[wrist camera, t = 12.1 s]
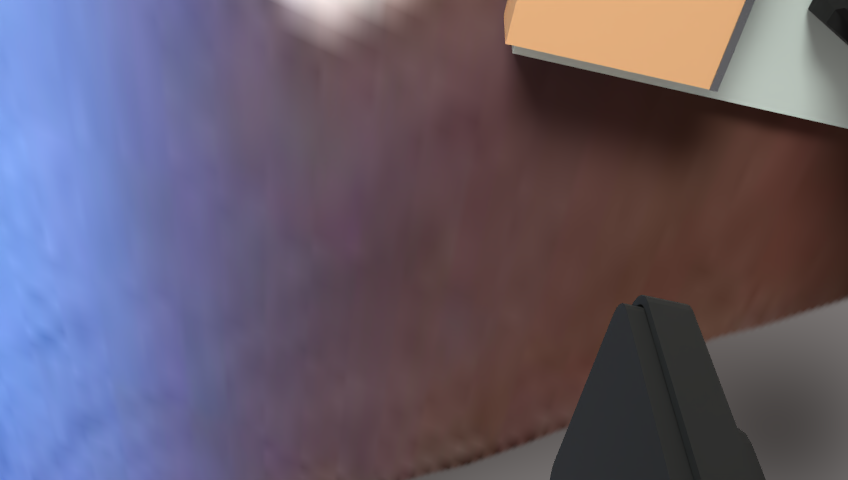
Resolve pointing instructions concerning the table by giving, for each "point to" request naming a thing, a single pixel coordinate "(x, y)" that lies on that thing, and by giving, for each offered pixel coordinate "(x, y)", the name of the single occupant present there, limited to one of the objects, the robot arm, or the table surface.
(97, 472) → the table surface
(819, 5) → the portable radio
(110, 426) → the table surface
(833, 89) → the vise bed
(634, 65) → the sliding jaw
